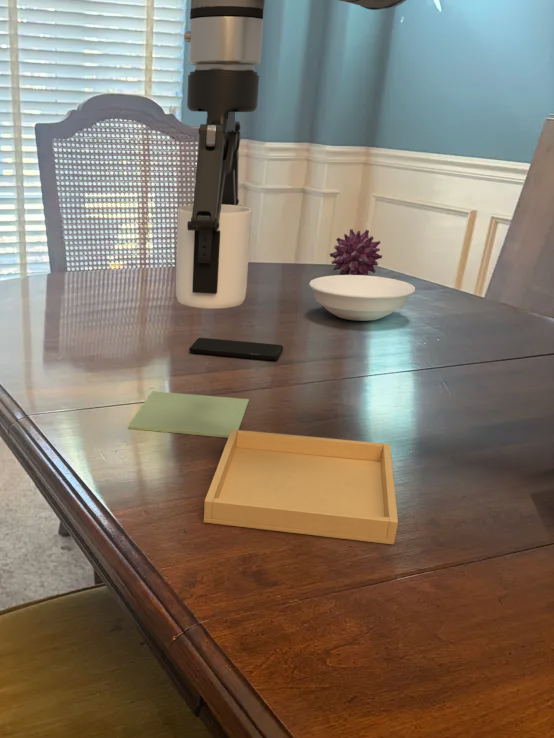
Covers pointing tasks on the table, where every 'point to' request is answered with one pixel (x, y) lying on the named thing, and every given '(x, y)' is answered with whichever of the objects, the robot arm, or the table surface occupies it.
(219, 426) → the mat
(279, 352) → the smartphone
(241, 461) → the tray
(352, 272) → the purple spiky ball
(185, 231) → the cup
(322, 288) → the bowl
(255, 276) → the table surface
